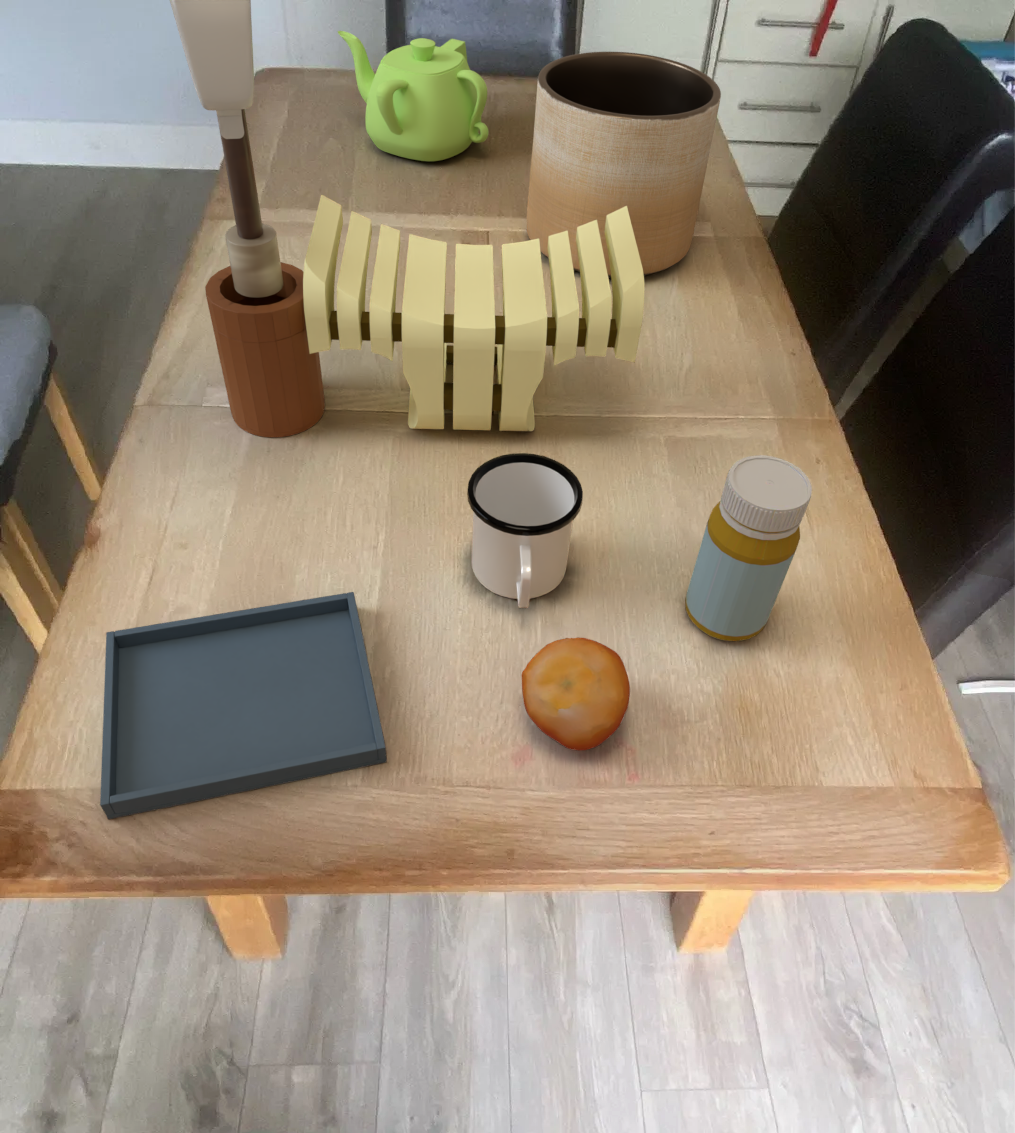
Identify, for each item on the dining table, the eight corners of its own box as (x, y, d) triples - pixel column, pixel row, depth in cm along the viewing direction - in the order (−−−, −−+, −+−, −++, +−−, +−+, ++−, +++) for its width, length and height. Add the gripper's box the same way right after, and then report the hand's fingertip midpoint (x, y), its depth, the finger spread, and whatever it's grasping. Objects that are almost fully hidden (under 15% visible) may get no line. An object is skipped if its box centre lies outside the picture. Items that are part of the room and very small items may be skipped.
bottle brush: (236, 300, 81) (193, 71, 67) (233, 275, 84) (191, 51, 70) (285, 295, 82) (253, 69, 68) (281, 271, 85) (249, 49, 71)
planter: (652, 199, 131) (678, 46, 116) (716, 276, 117) (755, 113, 102) (506, 210, 126) (514, 53, 111) (554, 292, 112) (570, 124, 97)
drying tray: (108, 819, 62) (99, 805, 60) (113, 647, 72) (106, 631, 70) (386, 762, 66) (385, 747, 64) (355, 607, 76) (353, 591, 74)
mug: (465, 526, 83) (467, 450, 76) (568, 529, 83) (578, 453, 77) (464, 628, 75) (466, 553, 68) (578, 630, 75) (591, 555, 69)
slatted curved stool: (321, 441, 90) (299, 278, 77) (337, 350, 101) (321, 194, 88) (619, 448, 92) (647, 289, 79) (603, 358, 103) (626, 205, 90)
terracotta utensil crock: (235, 443, 89) (207, 318, 79) (229, 387, 95) (203, 264, 85) (330, 431, 91) (316, 307, 81) (319, 377, 97) (304, 256, 87)
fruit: (662, 689, 70) (645, 667, 62) (602, 774, 69) (578, 761, 62) (580, 633, 73) (555, 606, 66) (522, 713, 72) (491, 694, 65)
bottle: (667, 613, 77) (704, 480, 66) (713, 571, 81) (755, 439, 70) (736, 659, 74) (786, 529, 63) (780, 613, 78) (835, 482, 67)
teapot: (499, 163, 137) (503, 59, 126) (368, 174, 132) (361, 67, 121) (465, 115, 149) (466, 16, 138) (344, 124, 144) (336, 22, 133)
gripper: (149, -114, 69) (186, 81, 79) (150, -40, 56) (195, 183, 66) (234, -114, 70) (260, 78, 80) (255, -41, 57) (283, 178, 67)
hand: (231, 126), depth 73 cm, fingers closed on bottle brush, 2 cm apart
